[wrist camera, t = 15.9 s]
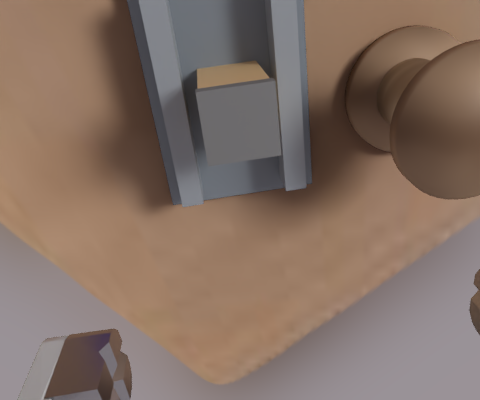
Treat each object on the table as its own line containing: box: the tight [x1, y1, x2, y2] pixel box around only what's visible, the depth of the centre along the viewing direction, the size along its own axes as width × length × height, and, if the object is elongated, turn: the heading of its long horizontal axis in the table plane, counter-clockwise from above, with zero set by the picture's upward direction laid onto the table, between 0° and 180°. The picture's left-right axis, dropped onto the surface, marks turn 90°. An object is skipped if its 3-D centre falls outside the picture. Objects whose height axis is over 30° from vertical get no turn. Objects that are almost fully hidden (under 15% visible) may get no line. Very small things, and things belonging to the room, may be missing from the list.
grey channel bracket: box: [127, 0, 312, 207], centre depth 28 cm, size 16×11×4 cm
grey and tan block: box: [195, 61, 281, 166], centre depth 26 cm, size 4×4×7 cm
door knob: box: [345, 26, 480, 199], centre depth 27 cm, size 9×9×9 cm
